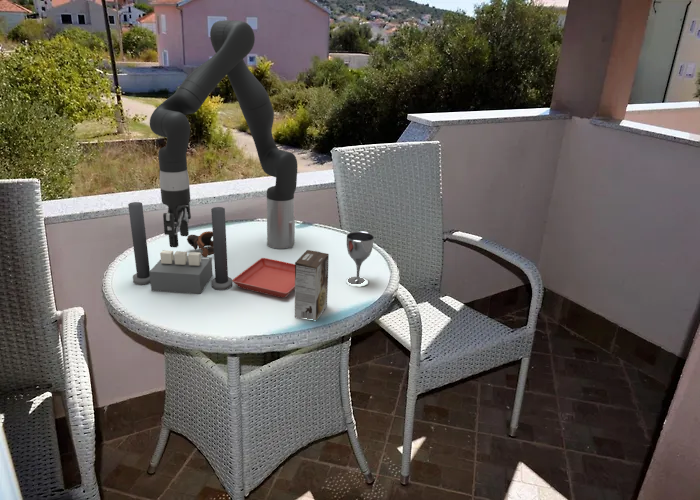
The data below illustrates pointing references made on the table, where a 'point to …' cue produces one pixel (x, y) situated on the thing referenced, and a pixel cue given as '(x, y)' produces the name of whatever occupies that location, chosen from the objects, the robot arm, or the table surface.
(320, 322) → the table surface
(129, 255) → the table surface
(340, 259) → the table surface
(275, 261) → the plant saucer
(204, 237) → the brown curved piece
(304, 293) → the coffee box
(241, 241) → the table surface
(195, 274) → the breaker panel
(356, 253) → the wine glass
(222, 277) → the post
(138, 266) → the post
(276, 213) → the robot arm
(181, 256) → the paddles
